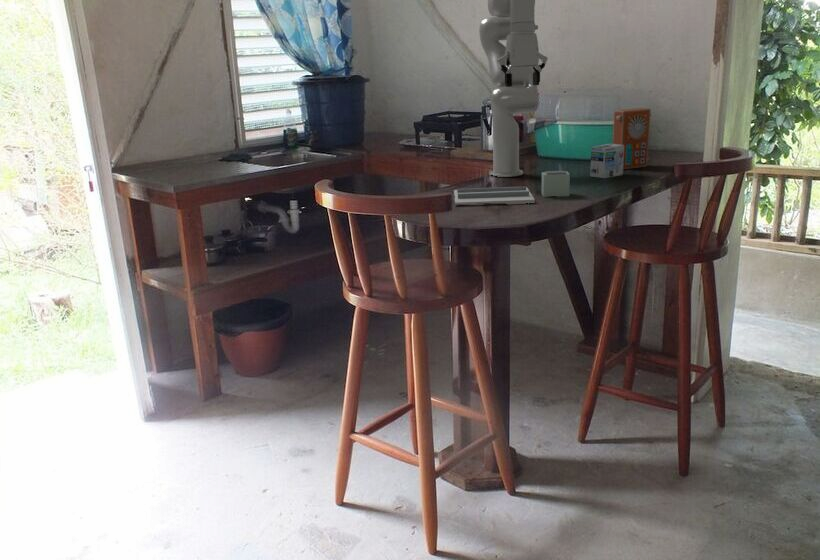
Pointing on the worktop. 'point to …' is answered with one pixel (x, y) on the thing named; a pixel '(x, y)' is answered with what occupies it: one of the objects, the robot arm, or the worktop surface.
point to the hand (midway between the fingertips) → (522, 85)
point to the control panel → (632, 135)
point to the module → (555, 183)
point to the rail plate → (494, 195)
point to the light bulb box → (607, 160)
